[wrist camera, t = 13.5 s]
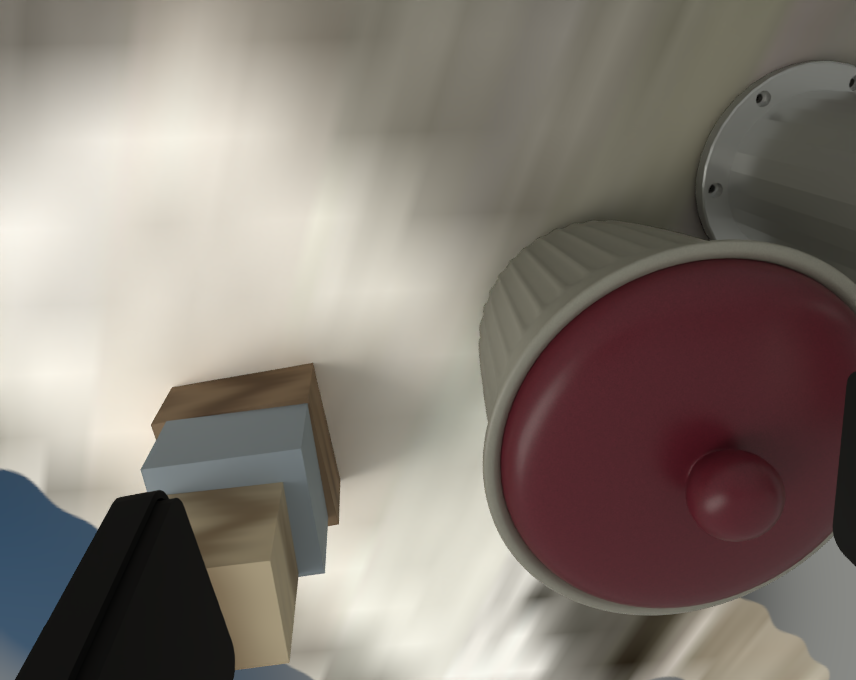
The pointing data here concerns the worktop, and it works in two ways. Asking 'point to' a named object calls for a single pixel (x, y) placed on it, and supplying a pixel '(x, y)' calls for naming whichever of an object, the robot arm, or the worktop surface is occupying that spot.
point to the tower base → (261, 394)
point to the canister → (663, 413)
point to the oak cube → (249, 566)
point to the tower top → (249, 466)
